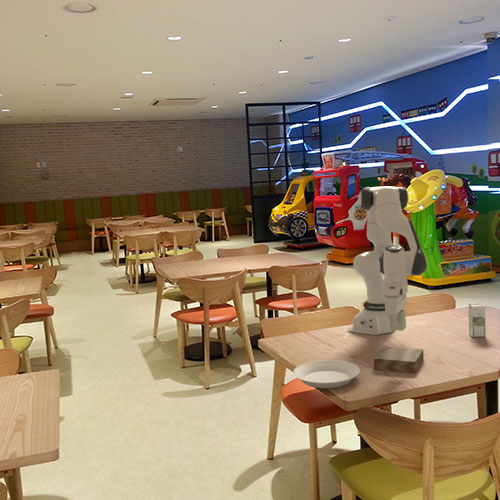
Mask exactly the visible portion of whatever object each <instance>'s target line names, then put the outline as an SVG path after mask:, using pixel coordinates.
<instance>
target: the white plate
mask: <svg viewBox="0 0 500 500" xmlns="http://www.w3.org/2000/svg"><path fill="white" fill-rule="evenodd" d="M360 372H361V370H360V367H359V366H357V365H356V364H354V363H352V362H348V361H345V360H338V359H337V360H336V359H335V360H334V359H323V360H321V359H320V360H313V361H309V362H305V363H303V364H299V365H298V366H296V367H295V368H294V370H293V372H292V373H293V375H294V376H295V378H297V379H298V380H300V381H301V382H302V383H303V384H305V385H306V386H308V387H312V388H316V389H335V388H339V387H343V386H346V385H348V384H349V383H351V381H352V380H353V379H354V378H355V377H357V376H358V375H359V374H360Z"/></svg>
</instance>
